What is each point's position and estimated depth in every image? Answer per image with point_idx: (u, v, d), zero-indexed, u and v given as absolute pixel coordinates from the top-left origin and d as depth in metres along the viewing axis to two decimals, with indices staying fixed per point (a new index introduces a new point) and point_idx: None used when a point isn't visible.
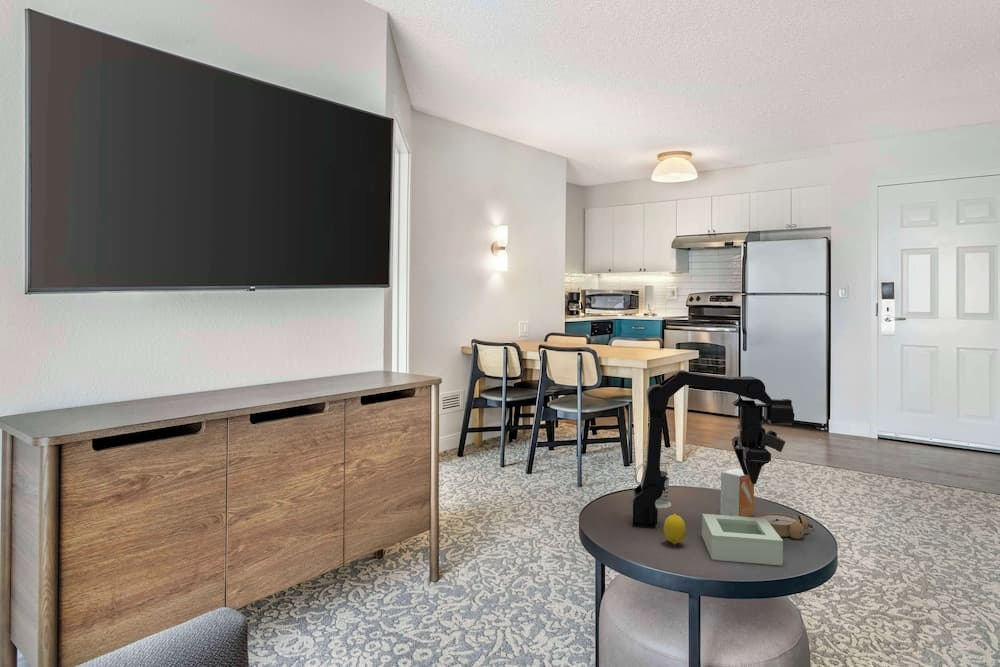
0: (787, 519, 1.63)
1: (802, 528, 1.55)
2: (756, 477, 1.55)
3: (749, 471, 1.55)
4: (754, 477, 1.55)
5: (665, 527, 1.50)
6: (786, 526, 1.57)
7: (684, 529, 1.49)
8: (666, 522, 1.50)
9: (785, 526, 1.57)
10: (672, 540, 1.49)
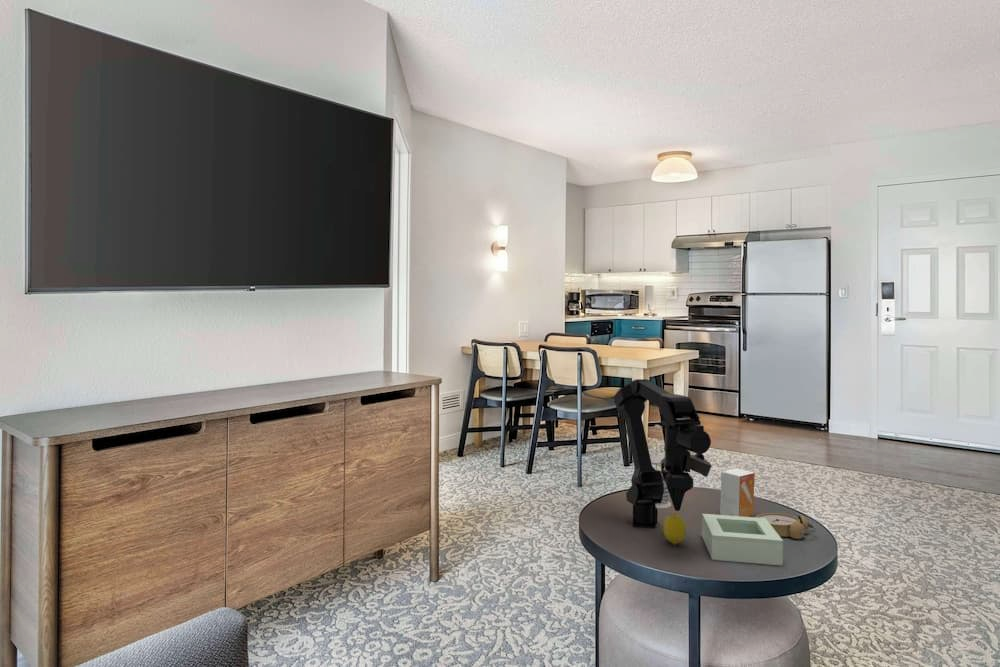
0: (787, 519, 1.63)
1: (802, 528, 1.55)
2: (679, 504, 1.46)
3: (672, 497, 1.45)
4: (677, 503, 1.46)
5: (665, 527, 1.50)
6: (786, 526, 1.57)
7: (684, 529, 1.49)
8: (666, 522, 1.50)
9: (785, 526, 1.57)
10: (672, 540, 1.49)
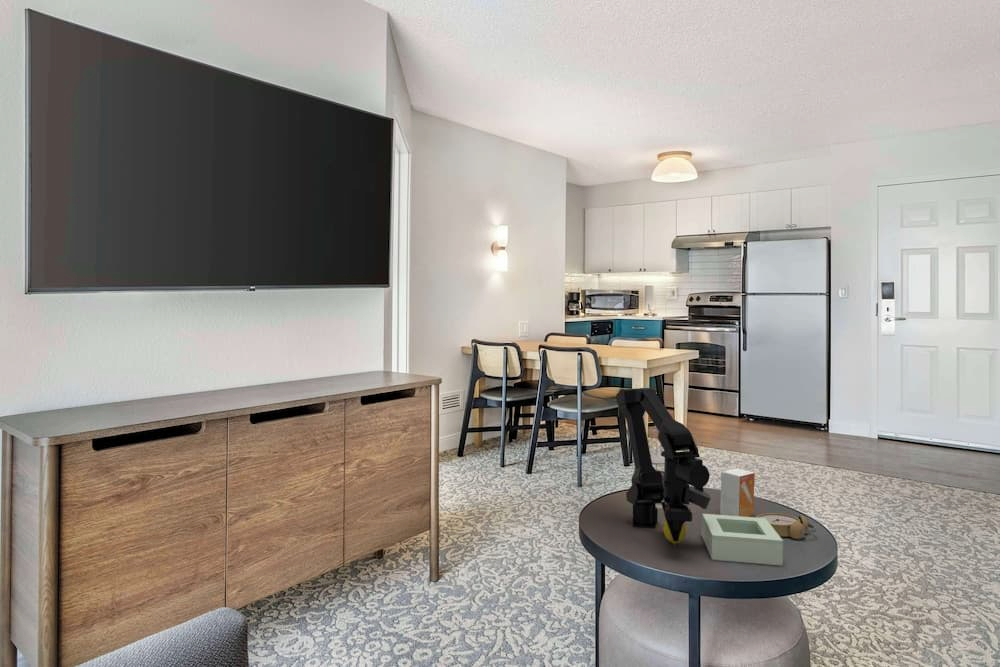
0: (787, 519, 1.63)
1: (803, 528, 1.55)
2: (678, 534, 1.47)
3: (670, 528, 1.47)
4: (675, 534, 1.48)
5: (665, 527, 1.50)
6: (787, 526, 1.57)
7: (685, 529, 1.49)
8: (666, 522, 1.50)
9: (786, 526, 1.57)
10: (672, 540, 1.49)
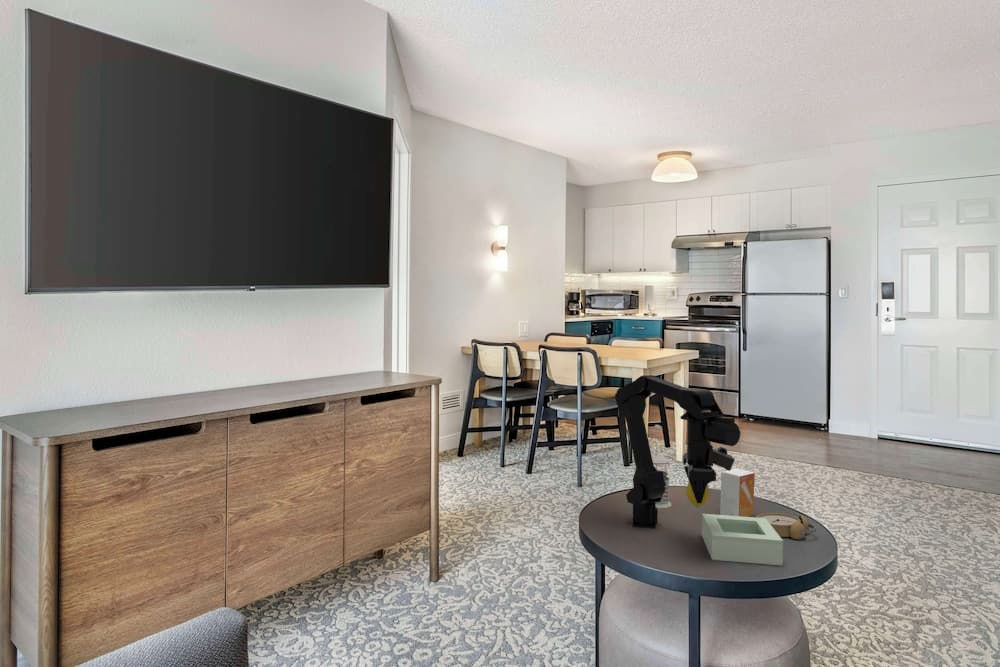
0: (787, 519, 1.63)
1: (803, 528, 1.55)
2: (701, 496, 1.46)
3: (694, 489, 1.46)
4: (699, 496, 1.46)
5: (688, 489, 1.49)
6: (787, 526, 1.56)
7: (708, 492, 1.48)
8: (689, 484, 1.49)
9: (786, 526, 1.57)
10: (695, 502, 1.48)
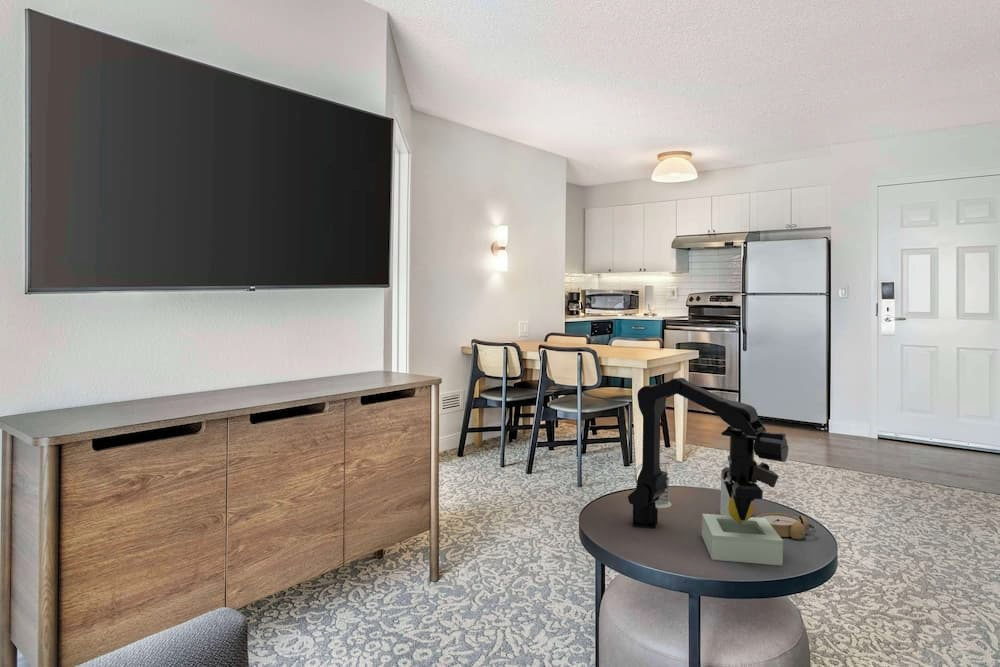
0: (788, 519, 1.63)
1: (803, 528, 1.55)
2: (745, 513, 1.44)
3: (737, 506, 1.44)
4: (742, 513, 1.45)
5: (731, 506, 1.47)
6: (787, 526, 1.56)
7: (751, 508, 1.46)
8: (732, 501, 1.47)
9: (786, 526, 1.56)
10: (738, 519, 1.46)
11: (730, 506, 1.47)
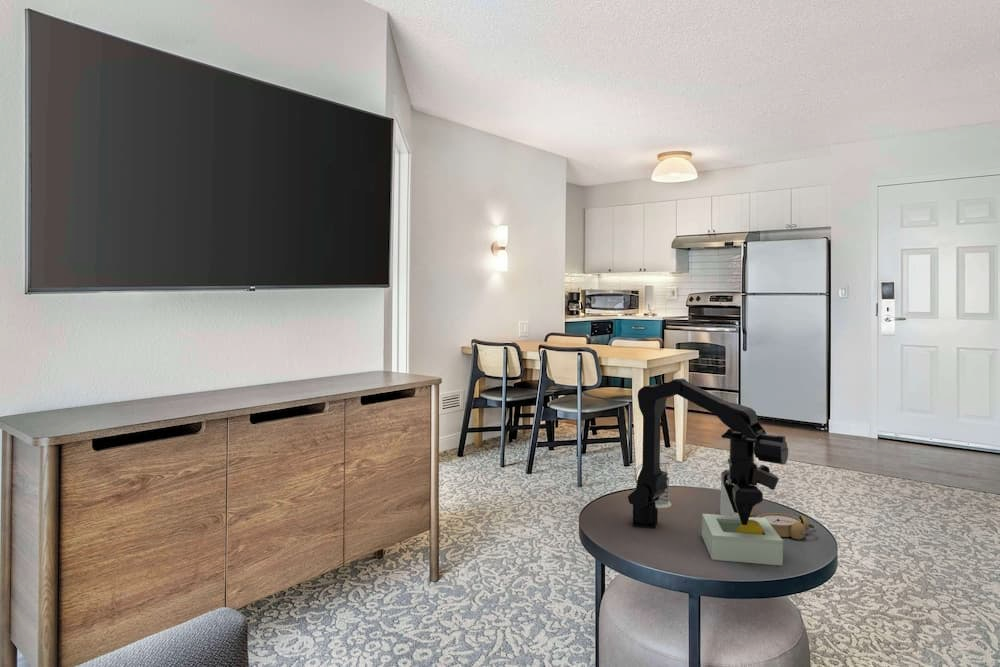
0: (788, 519, 1.62)
1: (803, 528, 1.55)
2: (747, 518, 1.43)
3: (739, 511, 1.42)
4: (744, 517, 1.43)
5: (742, 530, 1.45)
6: (787, 526, 1.56)
7: None
8: (746, 527, 1.44)
9: (786, 526, 1.56)
10: None
11: (741, 530, 1.45)
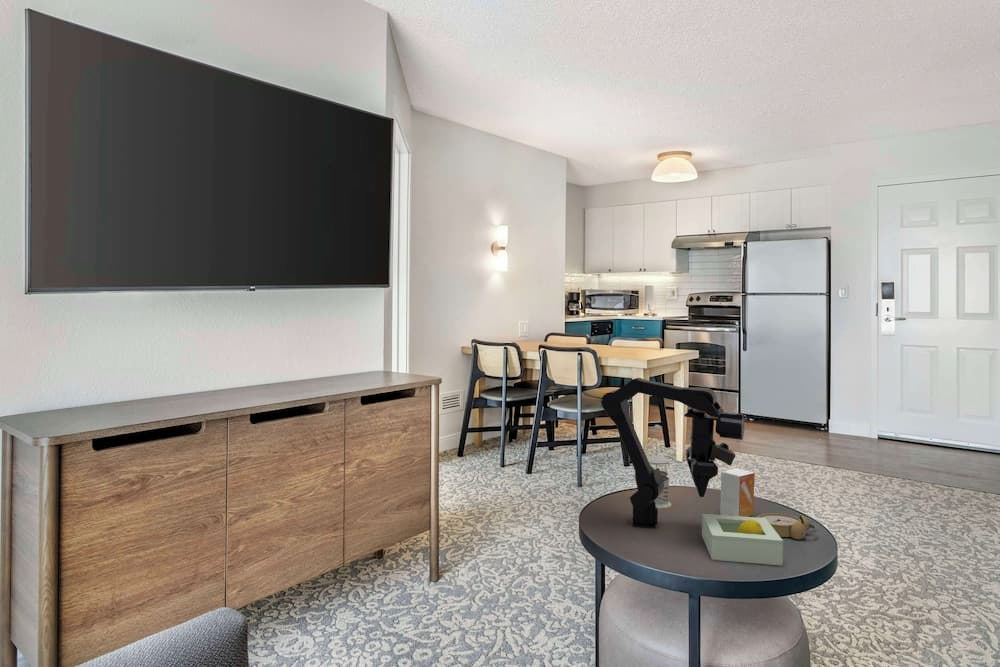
0: (788, 519, 1.62)
1: (804, 528, 1.55)
2: (704, 490, 1.53)
3: (697, 484, 1.53)
4: (701, 490, 1.53)
5: (742, 530, 1.45)
6: (788, 526, 1.56)
7: None
8: (746, 527, 1.44)
9: (787, 526, 1.56)
10: None
11: (741, 530, 1.45)
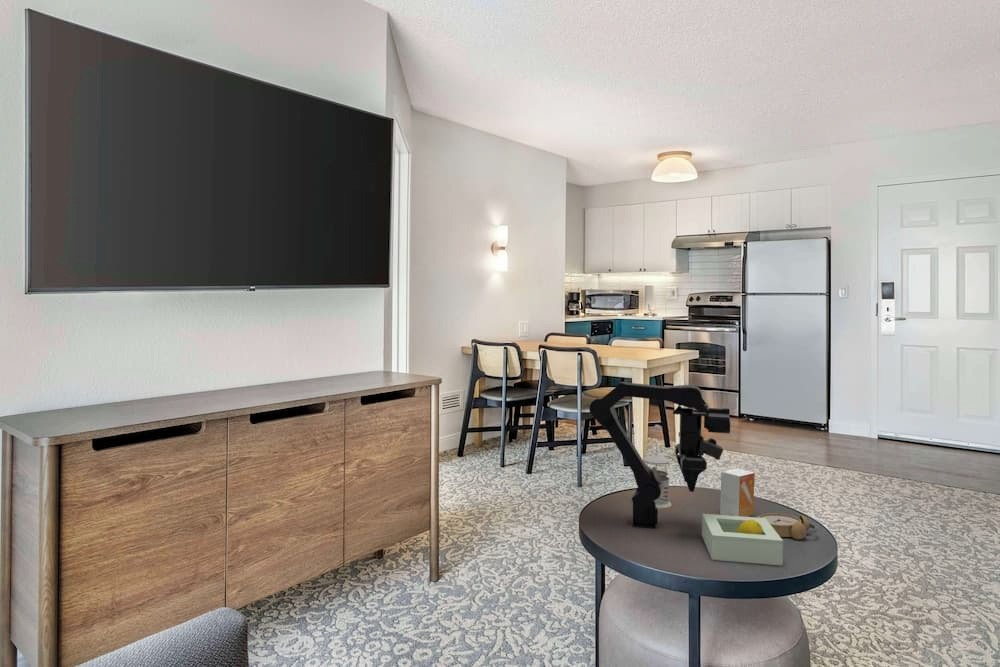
0: (788, 519, 1.62)
1: (804, 528, 1.55)
2: (693, 485, 1.56)
3: (686, 479, 1.56)
4: (691, 485, 1.57)
5: (742, 530, 1.45)
6: (788, 526, 1.56)
7: None
8: (746, 527, 1.44)
9: (787, 526, 1.56)
10: None
11: (741, 530, 1.45)
